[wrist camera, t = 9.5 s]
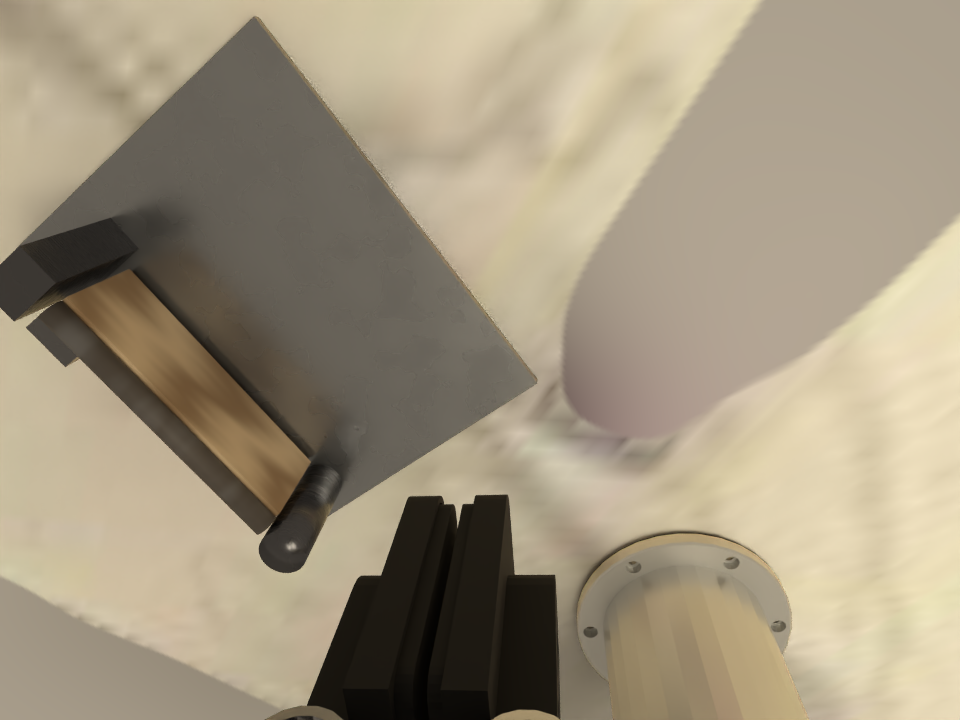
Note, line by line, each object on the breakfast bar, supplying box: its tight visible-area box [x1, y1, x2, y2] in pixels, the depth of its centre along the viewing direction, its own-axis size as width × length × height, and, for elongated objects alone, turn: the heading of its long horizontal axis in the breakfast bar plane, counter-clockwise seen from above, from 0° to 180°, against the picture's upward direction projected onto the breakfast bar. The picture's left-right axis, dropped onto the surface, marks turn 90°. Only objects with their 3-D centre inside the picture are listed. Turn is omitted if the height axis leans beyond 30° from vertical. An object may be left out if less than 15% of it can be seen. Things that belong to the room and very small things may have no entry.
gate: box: [38, 269, 311, 535], centre depth 34 cm, size 14×2×6 cm, turn 38°
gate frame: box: [0, 17, 537, 573], centre depth 33 cm, size 22×18×7 cm
